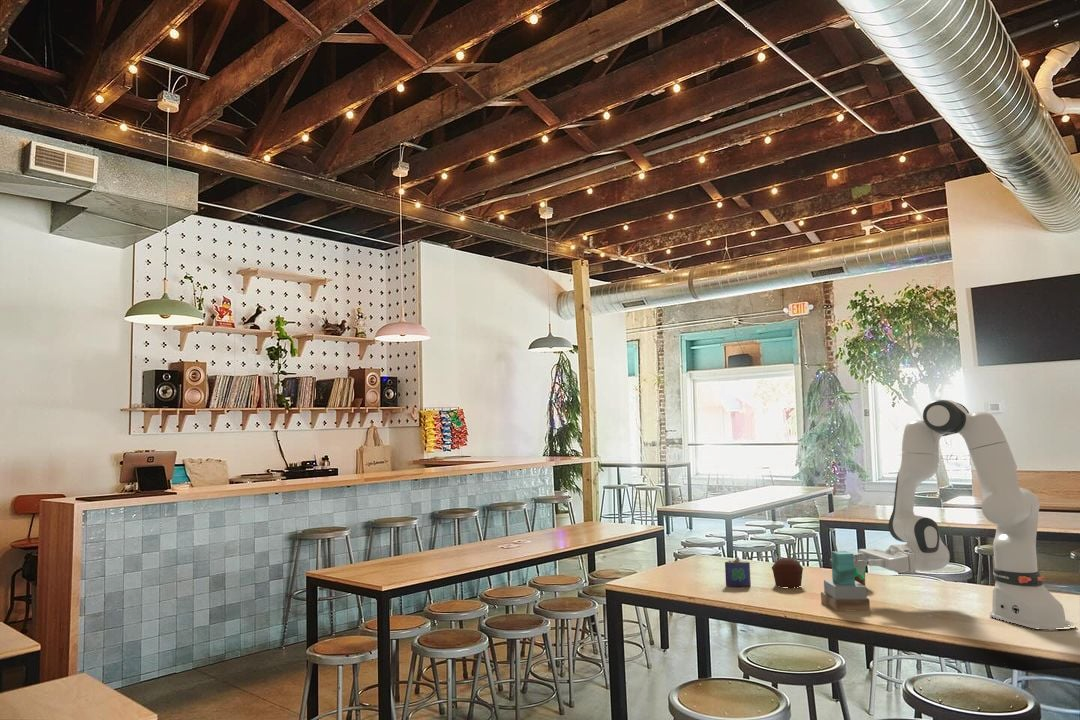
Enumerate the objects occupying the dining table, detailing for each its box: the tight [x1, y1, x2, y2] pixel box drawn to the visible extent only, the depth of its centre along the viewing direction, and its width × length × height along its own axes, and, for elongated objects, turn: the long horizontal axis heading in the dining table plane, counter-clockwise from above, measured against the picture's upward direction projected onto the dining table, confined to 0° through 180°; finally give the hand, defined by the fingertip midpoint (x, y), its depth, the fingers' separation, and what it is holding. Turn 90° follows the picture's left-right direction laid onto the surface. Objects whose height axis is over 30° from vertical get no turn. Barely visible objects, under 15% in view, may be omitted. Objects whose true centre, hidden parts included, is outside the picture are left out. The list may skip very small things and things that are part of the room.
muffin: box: [771, 557, 804, 589], centre depth 266 cm, size 12×11×10 cm
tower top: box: [823, 579, 868, 599], centre depth 236 cm, size 10×10×4 cm
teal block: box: [830, 550, 855, 585], centre depth 236 cm, size 5×5×10 cm
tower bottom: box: [820, 591, 871, 612], centre depth 236 cm, size 11×11×4 cm
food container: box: [854, 560, 868, 586], centre depth 263 cm, size 12×6×10 cm, turn 168°
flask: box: [724, 556, 752, 588], centre depth 267 cm, size 9×3×11 cm, turn 88°
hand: (859, 560), depth 237 cm, fingers open, 8 cm apart
